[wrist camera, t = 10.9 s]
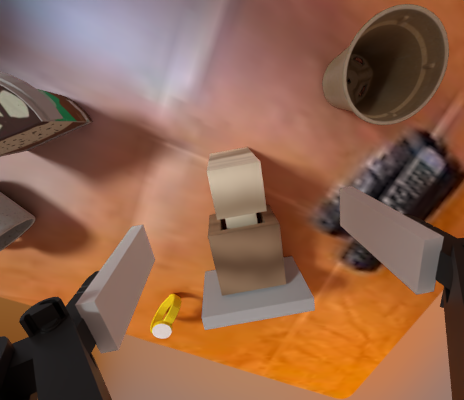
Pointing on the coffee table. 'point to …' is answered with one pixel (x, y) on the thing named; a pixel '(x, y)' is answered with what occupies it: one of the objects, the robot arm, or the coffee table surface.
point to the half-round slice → (34, 115)
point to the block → (247, 254)
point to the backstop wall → (255, 300)
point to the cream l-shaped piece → (236, 186)
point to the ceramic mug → (12, 221)
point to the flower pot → (390, 66)
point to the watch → (165, 326)
